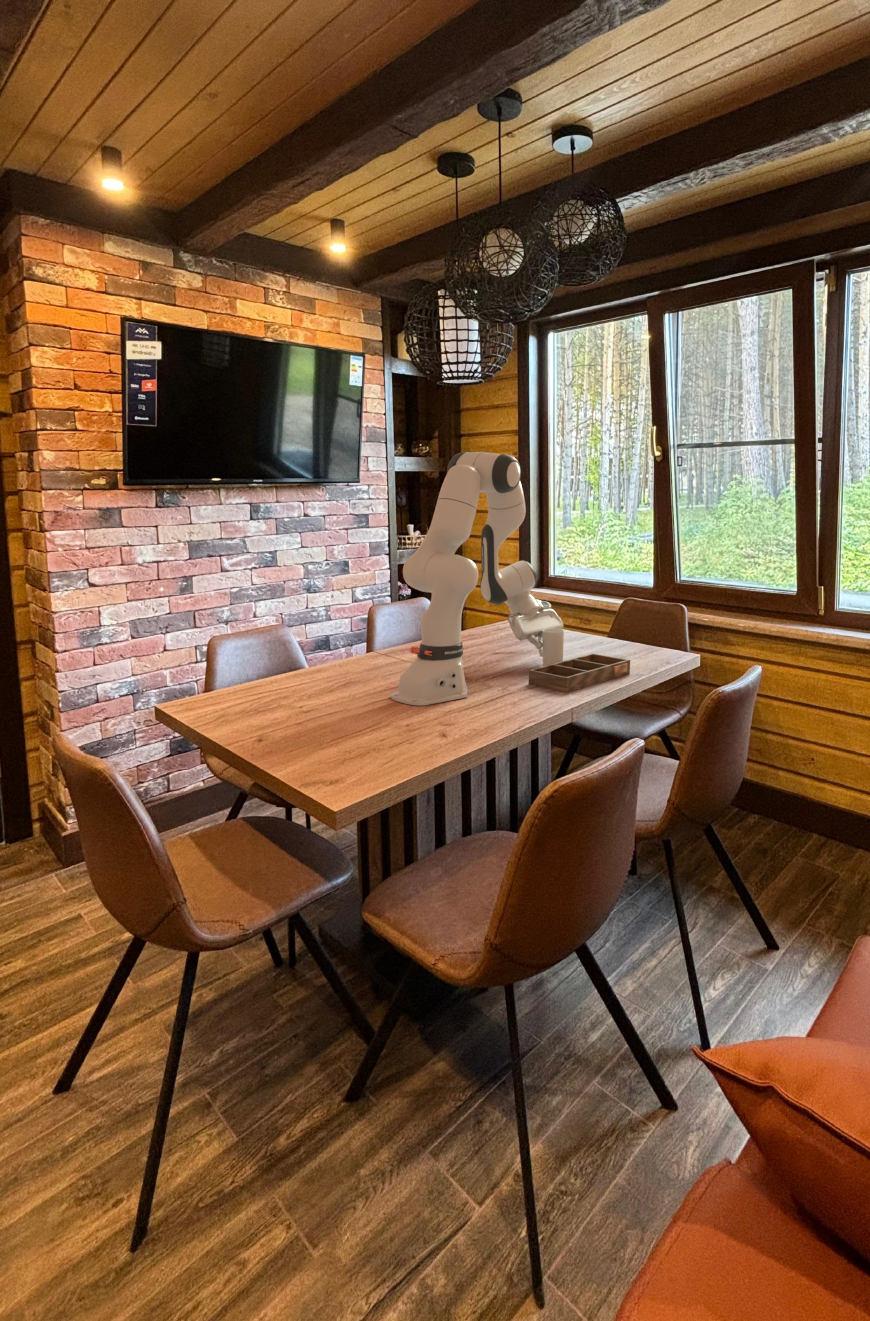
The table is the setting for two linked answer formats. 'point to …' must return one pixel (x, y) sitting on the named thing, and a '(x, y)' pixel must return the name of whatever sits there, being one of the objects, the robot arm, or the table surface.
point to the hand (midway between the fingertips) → (550, 645)
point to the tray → (579, 672)
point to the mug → (551, 645)
